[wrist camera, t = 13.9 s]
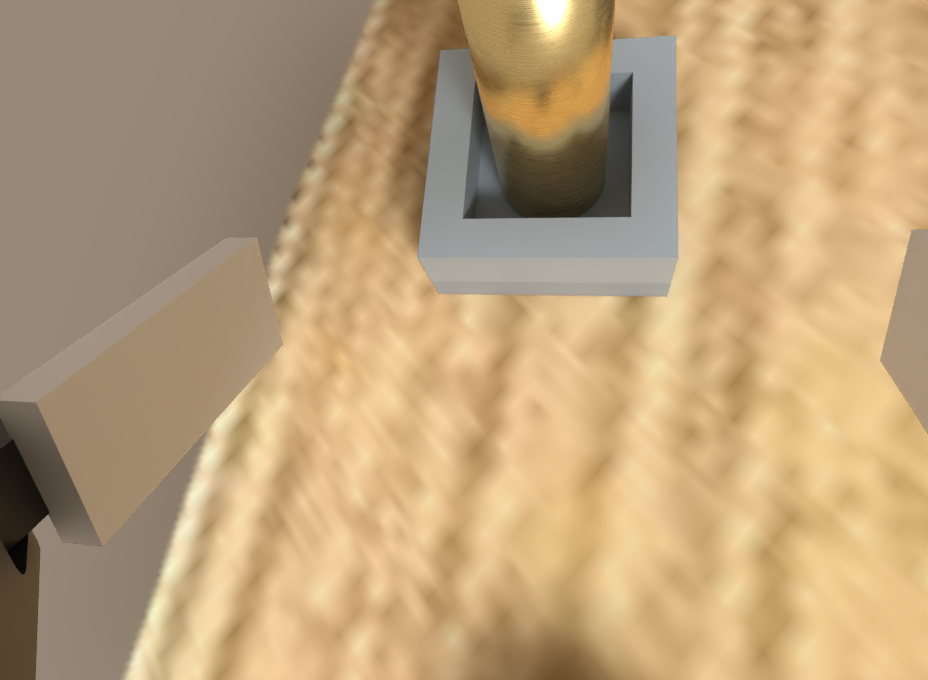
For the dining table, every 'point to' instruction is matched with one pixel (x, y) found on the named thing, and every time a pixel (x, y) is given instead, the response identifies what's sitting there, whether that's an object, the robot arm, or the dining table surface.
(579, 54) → the axle
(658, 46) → the blue-grey square socket
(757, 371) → the dining table surface
